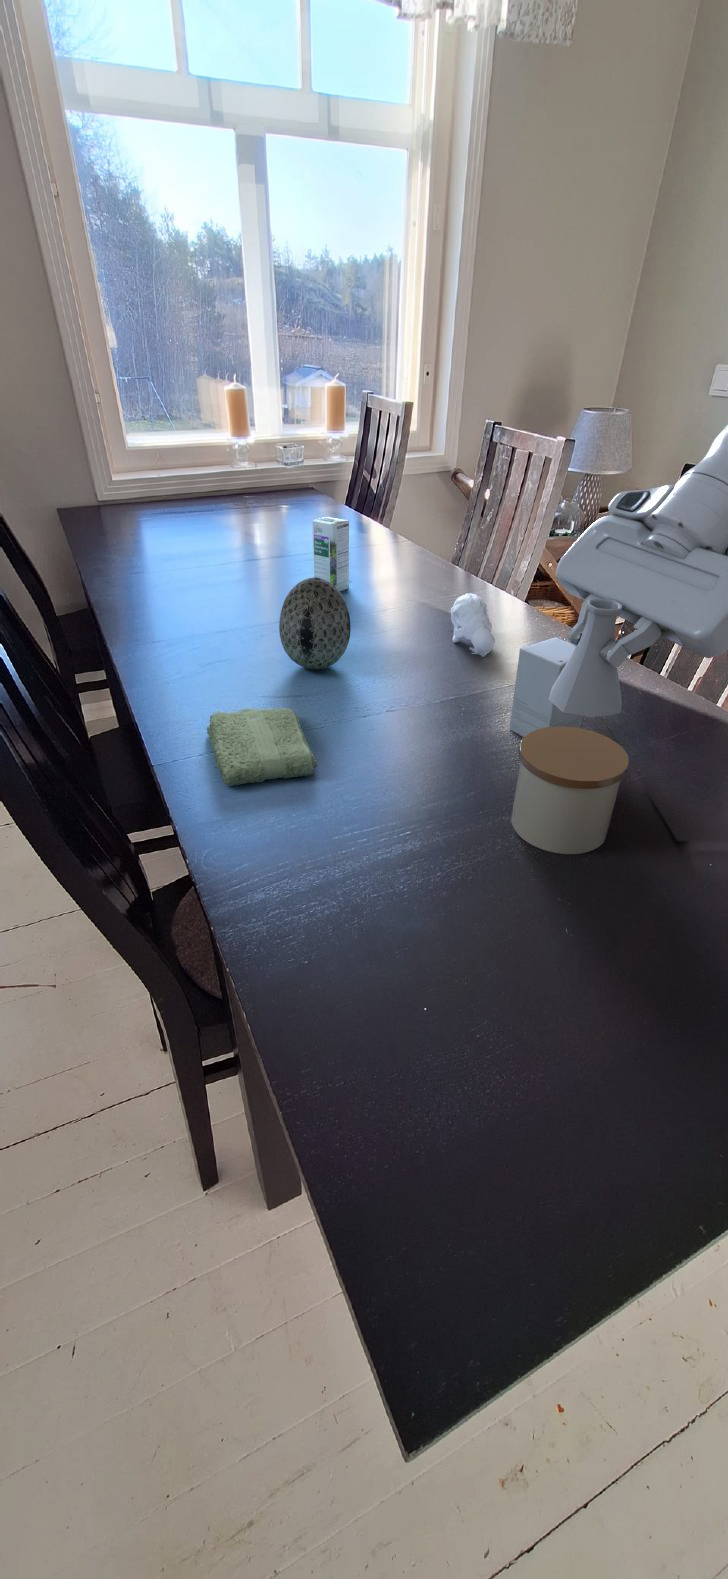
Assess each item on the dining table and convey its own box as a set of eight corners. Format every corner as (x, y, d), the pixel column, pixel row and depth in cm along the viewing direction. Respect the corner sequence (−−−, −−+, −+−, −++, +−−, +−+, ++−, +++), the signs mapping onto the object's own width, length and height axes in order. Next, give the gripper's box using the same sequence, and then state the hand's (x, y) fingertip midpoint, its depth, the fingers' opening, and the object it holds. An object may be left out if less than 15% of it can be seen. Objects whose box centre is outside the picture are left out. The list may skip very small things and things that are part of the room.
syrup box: (313, 589, 151) (310, 520, 143) (329, 583, 155) (328, 514, 147) (333, 595, 148) (333, 524, 140) (350, 587, 152) (350, 518, 144)
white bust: (483, 588, 125) (510, 617, 116) (476, 631, 131) (502, 662, 122) (450, 590, 124) (475, 620, 115) (445, 634, 129) (468, 665, 121)
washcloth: (294, 716, 103) (293, 696, 101) (321, 779, 89) (320, 757, 87) (205, 727, 100) (202, 707, 98) (218, 794, 86) (215, 772, 84)
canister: (593, 796, 86) (610, 726, 81) (622, 856, 77) (644, 781, 71) (500, 796, 86) (511, 725, 80) (518, 855, 77) (531, 780, 71)
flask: (541, 685, 72) (556, 590, 66) (611, 686, 71) (633, 591, 66) (555, 719, 66) (573, 617, 60) (632, 720, 65) (658, 618, 60)
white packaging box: (581, 736, 99) (598, 653, 92) (544, 750, 95) (560, 665, 88) (542, 715, 104) (556, 635, 97) (506, 728, 100) (518, 646, 93)
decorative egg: (293, 650, 123) (288, 565, 115) (357, 656, 121) (357, 570, 113) (272, 677, 114) (266, 587, 105) (341, 684, 112) (341, 593, 103)
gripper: (805, 589, 57) (685, 716, 59) (630, 531, 73) (540, 634, 75) (786, 539, 53) (659, 678, 55) (606, 489, 69) (511, 599, 71)
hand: (589, 652), depth 65 cm, fingers closed on flask, 3 cm apart
